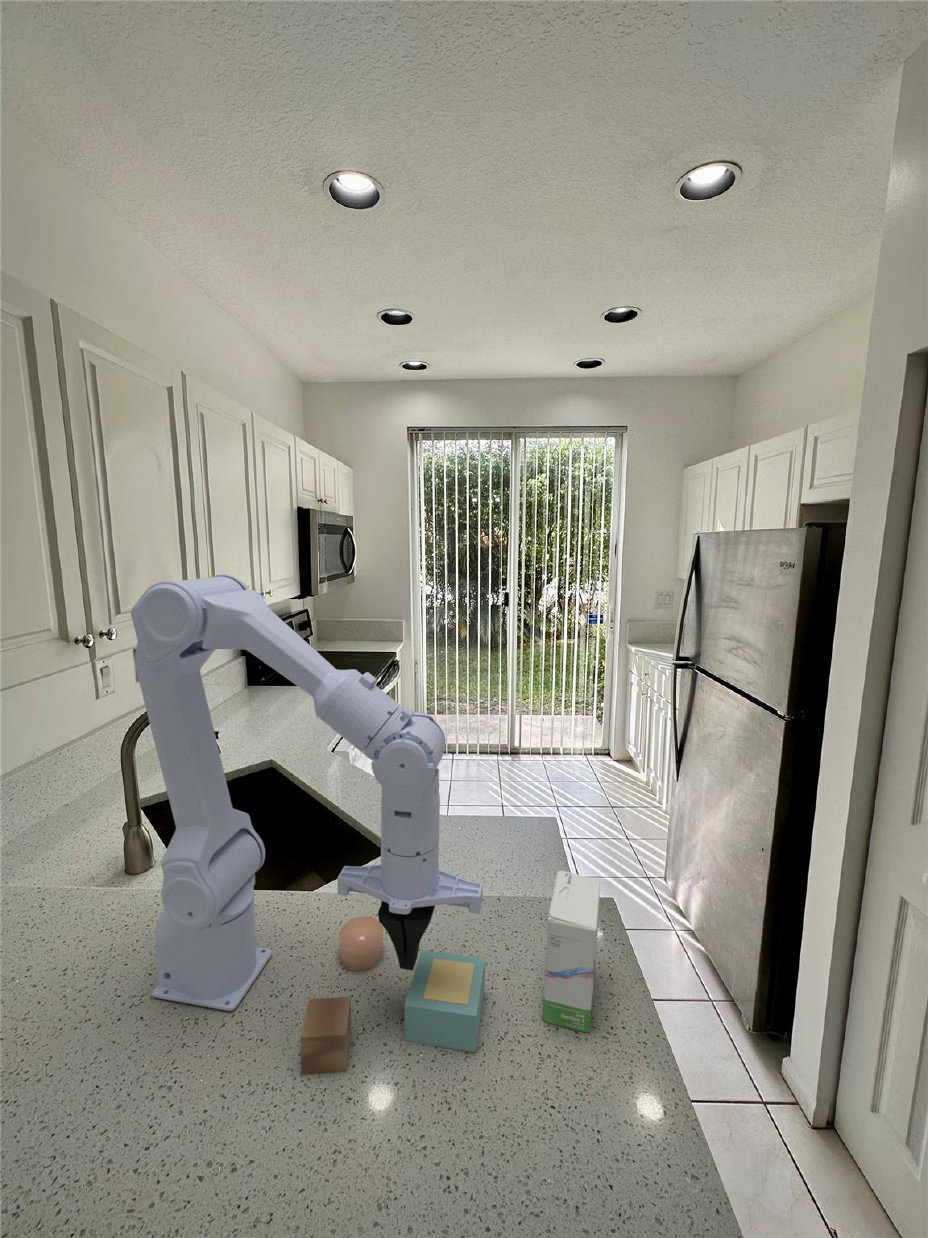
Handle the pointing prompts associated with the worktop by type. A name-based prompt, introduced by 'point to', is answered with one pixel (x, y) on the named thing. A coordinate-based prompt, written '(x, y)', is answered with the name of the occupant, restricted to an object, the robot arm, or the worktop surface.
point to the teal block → (445, 1001)
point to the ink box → (571, 951)
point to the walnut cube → (326, 1036)
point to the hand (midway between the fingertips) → (408, 962)
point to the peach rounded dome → (361, 943)
